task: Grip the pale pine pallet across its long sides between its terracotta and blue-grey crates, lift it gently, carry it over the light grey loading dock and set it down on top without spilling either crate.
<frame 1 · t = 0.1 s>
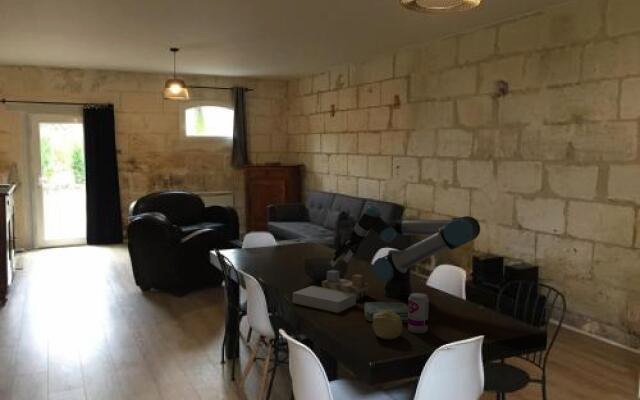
hand: (338, 262, 271), 15 cm above the table, tool tilted 35°, fingers open, 13 cm apart
dock: (324, 303, 249), on the table
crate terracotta: (358, 285, 261), point 6 cm above the table, touching pallet
pallet: (345, 295, 266), on the table, touching crate bluegrey, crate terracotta
tan round ball: (387, 337, 206), on the table
towel: (387, 316, 233), on the table
supplement can: (417, 330, 214), on the table
crate bluegrey: (333, 280, 269), point 6 cm above the table, touching pallet
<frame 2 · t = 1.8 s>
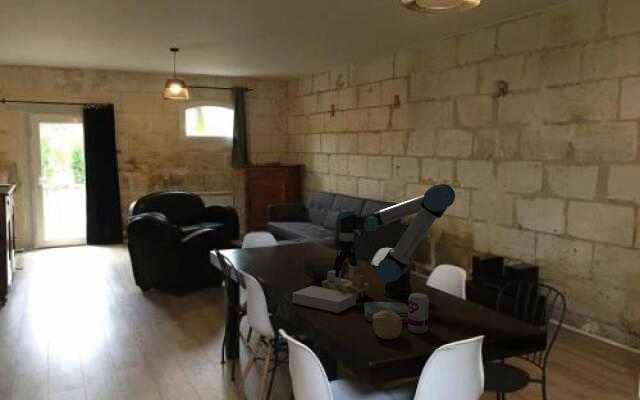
hand: (344, 280, 265), 7 cm above the table, tool pointing down, fingers open, 13 cm apart
nothing on the table moved.
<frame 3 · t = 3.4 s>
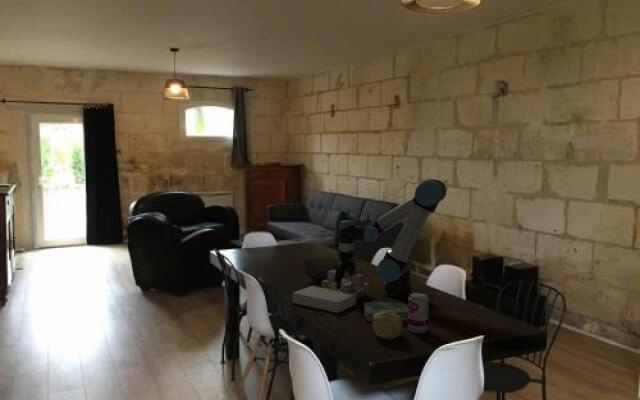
hand: (345, 292, 266), 1 cm above the table, tool pointing down, fingers closed on pallet, 11 cm apart
pallet: (345, 294, 266), on the table, touching crate bluegrey, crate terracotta, gripper
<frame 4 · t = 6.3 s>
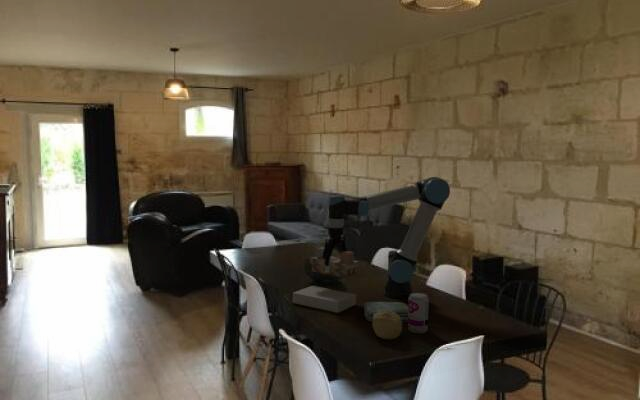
hand: (334, 270, 256), 15 cm above the table, tool pointing down, fingers closed on pallet, 11 cm apart
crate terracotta: (346, 261, 252), point 20 cm above the table, touching pallet
pallet: (334, 272, 257), point 13 cm above the table, touching crate bluegrey, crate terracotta, gripper
crate bluegrey: (323, 257, 260), point 20 cm above the table, touching pallet
everything else where it was.
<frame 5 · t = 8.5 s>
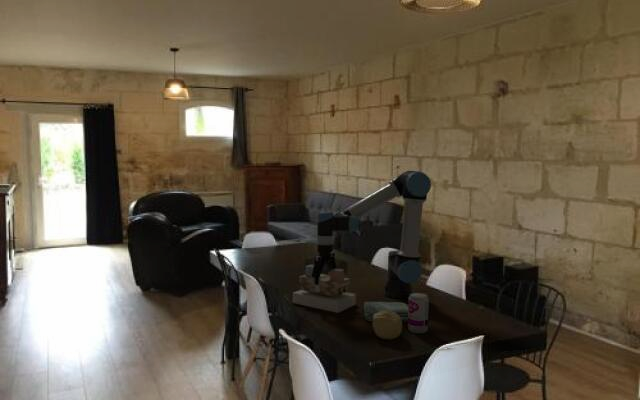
hand: (324, 288, 248), 7 cm above the table, tool pointing down, fingers closed on pallet, 11 cm apart
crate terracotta: (337, 279, 244), point 13 cm above the table, touching pallet
pallet: (324, 290, 249), point 6 cm above the table, touching crate bluegrey, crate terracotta, gripper
crate bluegrey: (312, 275, 252), point 13 cm above the table, touching pallet
everything else where it was.
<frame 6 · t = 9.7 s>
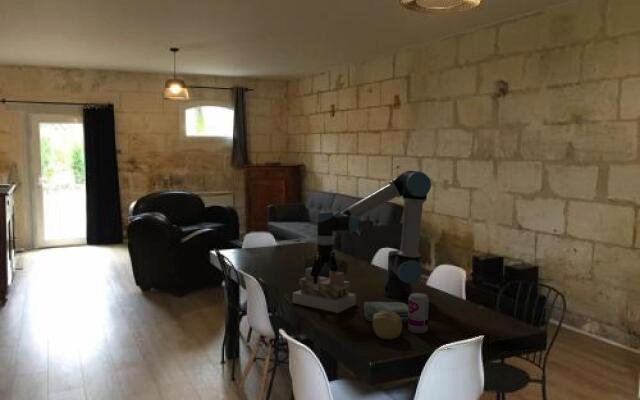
hand: (324, 287, 248), 8 cm above the table, tool pointing down, fingers open, 13 cm apart
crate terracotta: (337, 282, 244), point 11 cm above the table, touching pallet
pallet: (324, 293, 249), point 5 cm above the table, touching crate bluegrey, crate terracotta, dock
crate bluegrey: (312, 278, 252), point 11 cm above the table, touching pallet
everything else where it was.
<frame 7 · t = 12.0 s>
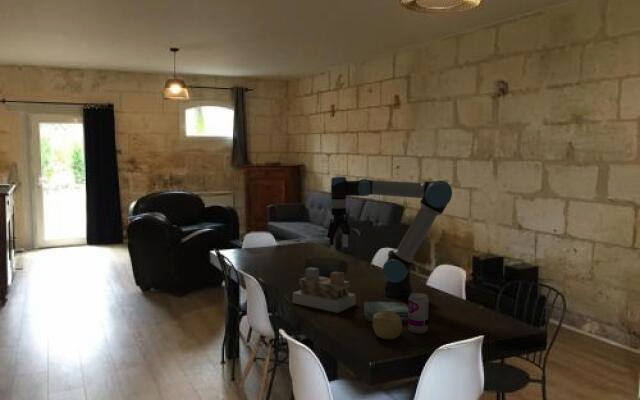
hand: (339, 249, 260), 24 cm above the table, tool pointing down, fingers open, 13 cm apart
nothing on the table moved.
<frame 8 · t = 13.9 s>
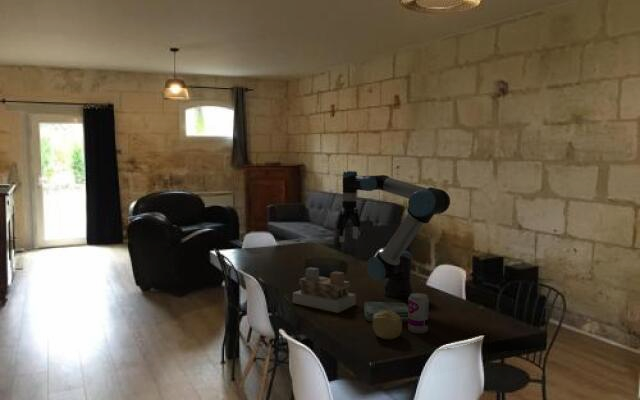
hand: (348, 240, 273), 27 cm above the table, tool pointing down, fingers open, 13 cm apart
nothing on the table moved.
at the end: pallet inside the target area (0.0 cm from its centre), point 5.0 cm above the table; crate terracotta point 11.5 cm above the table; crate bluegrey point 11.5 cm above the table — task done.
